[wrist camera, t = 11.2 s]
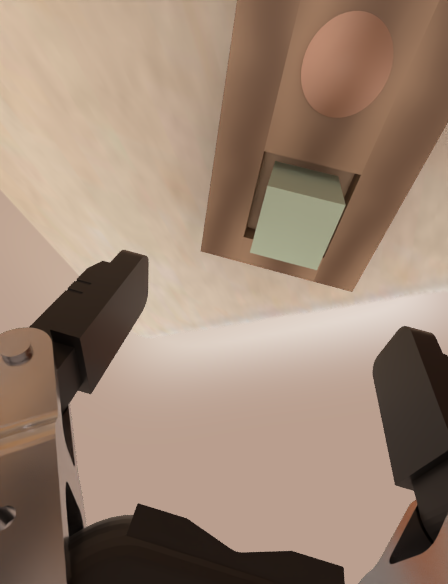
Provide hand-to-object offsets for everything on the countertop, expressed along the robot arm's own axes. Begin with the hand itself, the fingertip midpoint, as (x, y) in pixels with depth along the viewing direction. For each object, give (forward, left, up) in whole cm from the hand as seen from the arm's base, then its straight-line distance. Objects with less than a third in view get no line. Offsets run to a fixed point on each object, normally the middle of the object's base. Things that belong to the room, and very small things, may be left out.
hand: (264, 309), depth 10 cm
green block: (+1, -3, -18) cm, 18 cm away
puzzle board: (+1, +1, -19) cm, 19 cm away
